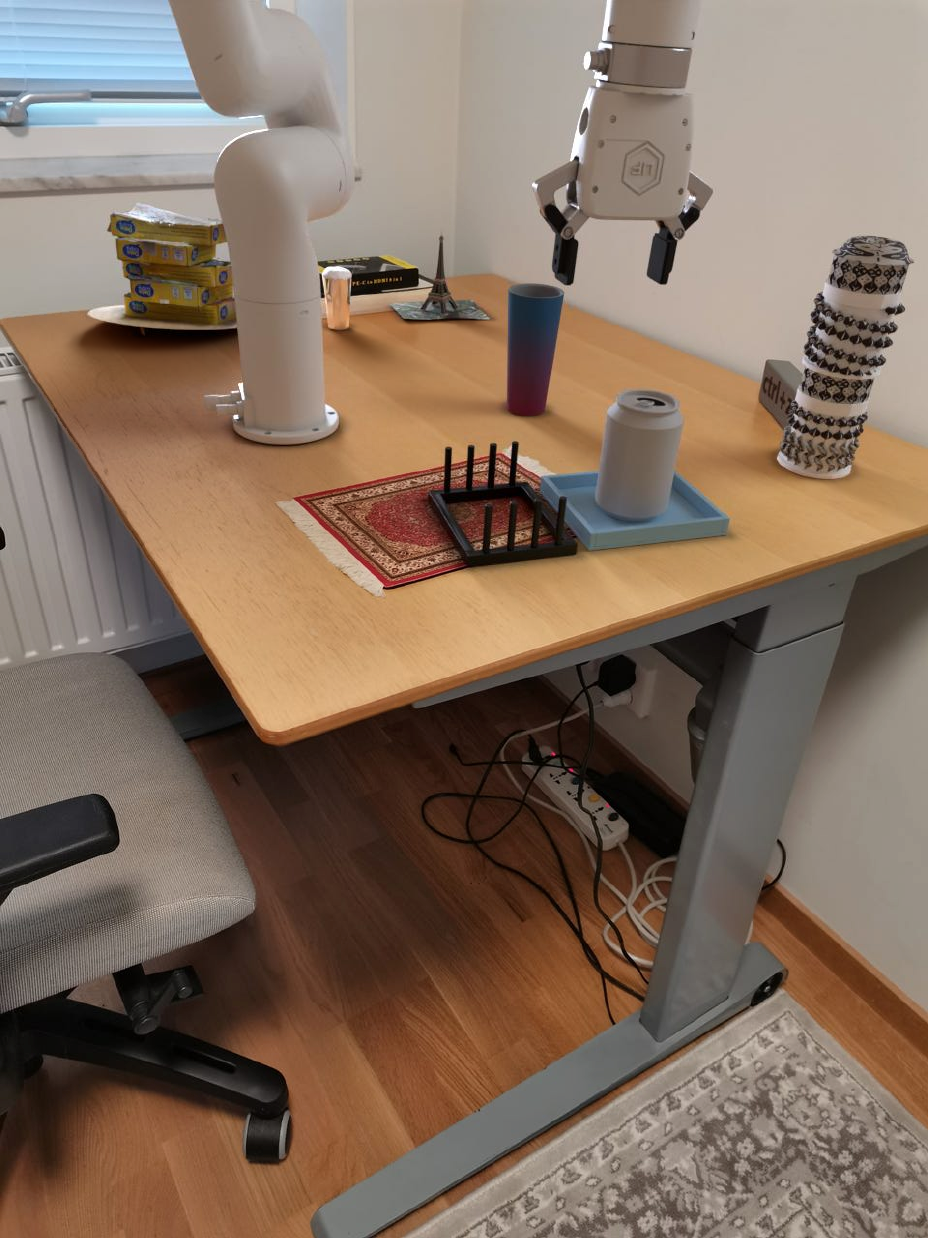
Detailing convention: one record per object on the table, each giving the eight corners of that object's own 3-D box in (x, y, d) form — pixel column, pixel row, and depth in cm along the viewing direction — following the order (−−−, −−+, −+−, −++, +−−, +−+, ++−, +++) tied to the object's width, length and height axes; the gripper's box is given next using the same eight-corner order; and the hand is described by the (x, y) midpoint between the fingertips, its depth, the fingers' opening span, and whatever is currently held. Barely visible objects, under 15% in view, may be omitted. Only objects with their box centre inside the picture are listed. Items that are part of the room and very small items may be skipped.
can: (676, 506, 95) (698, 396, 89) (649, 533, 90) (670, 418, 83) (612, 486, 99) (628, 379, 92) (581, 511, 93) (596, 399, 87)
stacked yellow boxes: (153, 298, 152) (138, 190, 143) (286, 318, 147) (279, 206, 137) (56, 339, 133) (30, 216, 123) (205, 363, 127) (190, 236, 118)
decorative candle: (829, 447, 112) (892, 231, 98) (869, 479, 104) (943, 250, 90) (760, 448, 110) (814, 230, 96) (796, 481, 103) (860, 249, 89)
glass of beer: (356, 332, 142) (354, 265, 137) (322, 330, 142) (319, 263, 137) (359, 323, 146) (358, 258, 140) (326, 322, 146) (323, 256, 140)
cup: (548, 421, 115) (561, 299, 106) (495, 414, 116) (504, 294, 107) (554, 402, 120) (567, 286, 112) (504, 397, 121) (512, 280, 113)
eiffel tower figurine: (472, 302, 160) (476, 221, 152) (490, 319, 152) (495, 234, 144) (389, 305, 156) (389, 222, 148) (403, 322, 148) (404, 235, 140)
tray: (588, 551, 87) (591, 533, 86) (539, 491, 98) (541, 475, 97) (726, 534, 91) (730, 518, 90) (665, 479, 102) (668, 464, 101)
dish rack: (467, 567, 84) (470, 509, 80) (427, 500, 95) (429, 447, 91) (576, 554, 87) (584, 498, 83) (526, 491, 98) (531, 439, 94)
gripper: (564, 68, 71) (539, 293, 80) (756, 80, 75) (710, 291, 85) (531, 61, 77) (511, 271, 86) (711, 72, 81) (673, 270, 91)
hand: (610, 281), depth 86 cm, fingers open, 9 cm apart
